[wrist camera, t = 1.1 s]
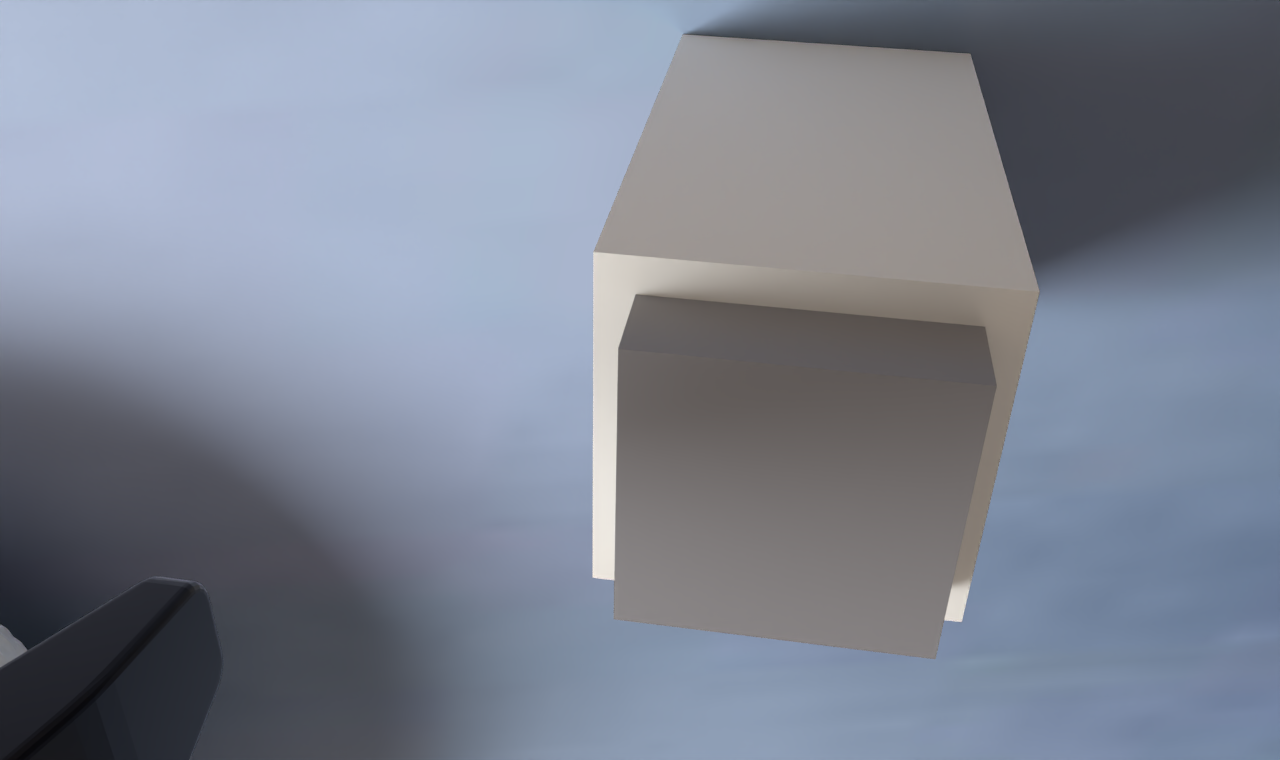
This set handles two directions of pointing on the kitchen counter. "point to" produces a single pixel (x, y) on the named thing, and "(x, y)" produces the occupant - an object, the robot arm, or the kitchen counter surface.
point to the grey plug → (806, 345)
